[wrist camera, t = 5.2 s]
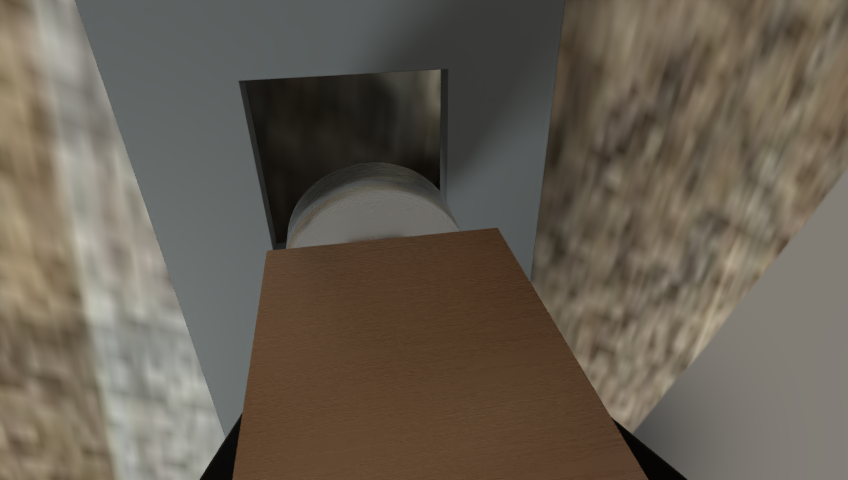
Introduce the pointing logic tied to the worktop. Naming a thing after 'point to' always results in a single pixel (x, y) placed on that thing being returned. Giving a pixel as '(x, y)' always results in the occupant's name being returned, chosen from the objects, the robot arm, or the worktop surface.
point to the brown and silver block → (411, 351)
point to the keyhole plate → (307, 57)
